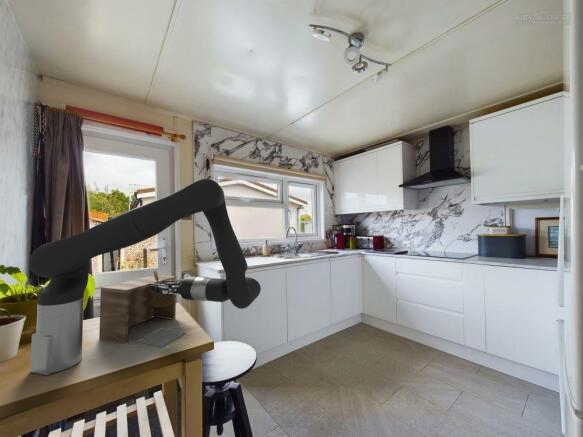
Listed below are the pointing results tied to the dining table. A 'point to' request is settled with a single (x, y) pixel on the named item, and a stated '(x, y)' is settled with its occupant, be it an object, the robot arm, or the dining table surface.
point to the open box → (130, 307)
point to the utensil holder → (159, 299)
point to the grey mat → (161, 337)
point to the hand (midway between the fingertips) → (157, 284)
